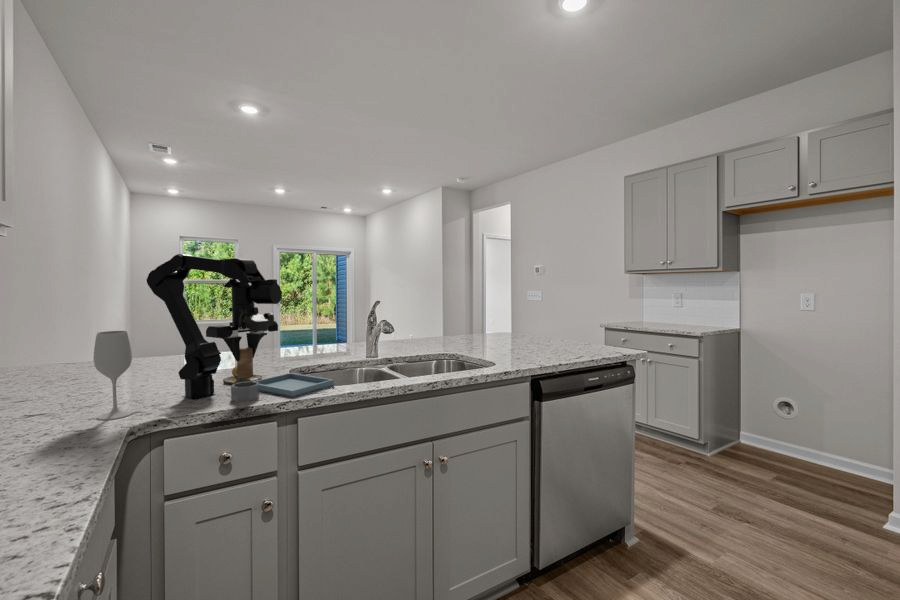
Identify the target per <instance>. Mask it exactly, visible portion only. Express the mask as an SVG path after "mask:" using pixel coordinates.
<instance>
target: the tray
mask: <svg viewBox="0 0 900 600" xmlns="http://www.w3.org/2000/svg"><path fill="white" fill-rule="evenodd" d="M256 380H257V379H256ZM252 381H253V380H252ZM253 382H259V392H262V393H267V394H271V395H276V396H281V397H286V398H291V399H293V398H296V397H300V396H304V395H306V394H310V393H314V392H318V391H321V390H324V389H323V388H325V389H330V388H331V387H334V388H335V379H332V378H326V377H318V376H313V375H307V374H301V373H293V372H287V373H284V374H279V375H274V376H270V377H266V378H261V379H259V380H257V381H253ZM331 389H332V388H331Z"/></svg>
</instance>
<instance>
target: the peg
mask: <svg viewBox="0 0 900 600" xmlns="http://www.w3.org/2000/svg"><path fill="white" fill-rule="evenodd" d="M253 359H254V358H253V351H252V348H250V347H248V346H247V347H240V360H239V361H236V366H237V377H238V378H251V377H253V375H254V361H253Z"/></svg>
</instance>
